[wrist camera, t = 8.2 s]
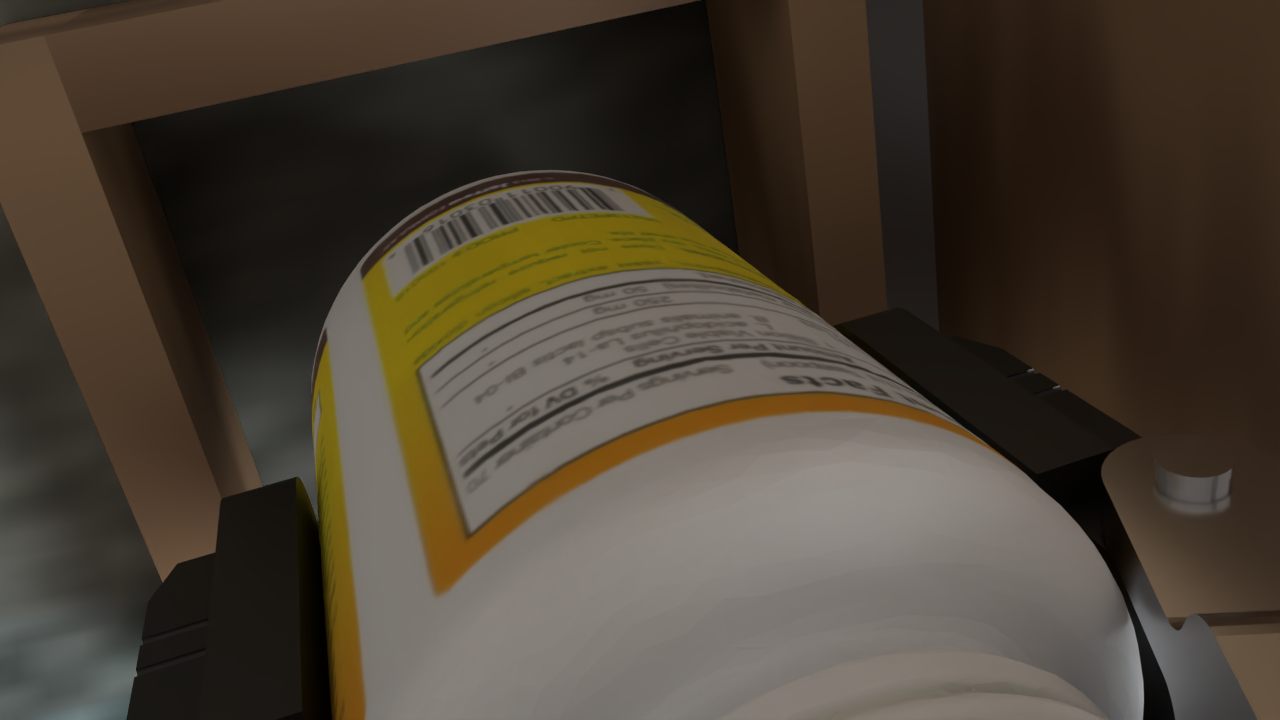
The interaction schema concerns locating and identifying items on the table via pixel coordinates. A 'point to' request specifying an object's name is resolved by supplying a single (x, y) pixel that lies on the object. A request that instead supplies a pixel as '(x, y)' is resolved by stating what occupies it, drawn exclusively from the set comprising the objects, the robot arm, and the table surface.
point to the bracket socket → (760, 188)
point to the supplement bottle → (667, 494)
